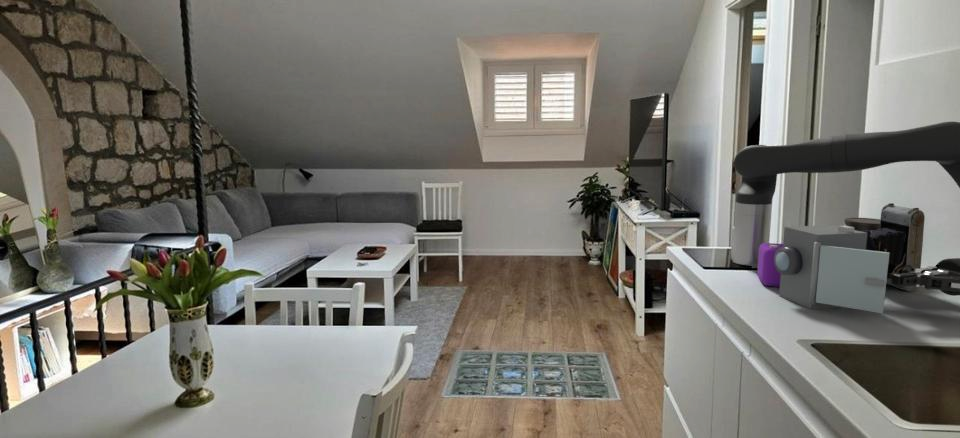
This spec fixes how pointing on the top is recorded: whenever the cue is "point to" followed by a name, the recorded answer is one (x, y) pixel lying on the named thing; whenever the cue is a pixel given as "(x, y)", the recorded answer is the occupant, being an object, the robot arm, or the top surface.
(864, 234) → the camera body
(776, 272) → the toy camera
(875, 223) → the coffee can
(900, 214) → the vintage camera
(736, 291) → the top surface
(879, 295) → the side door
